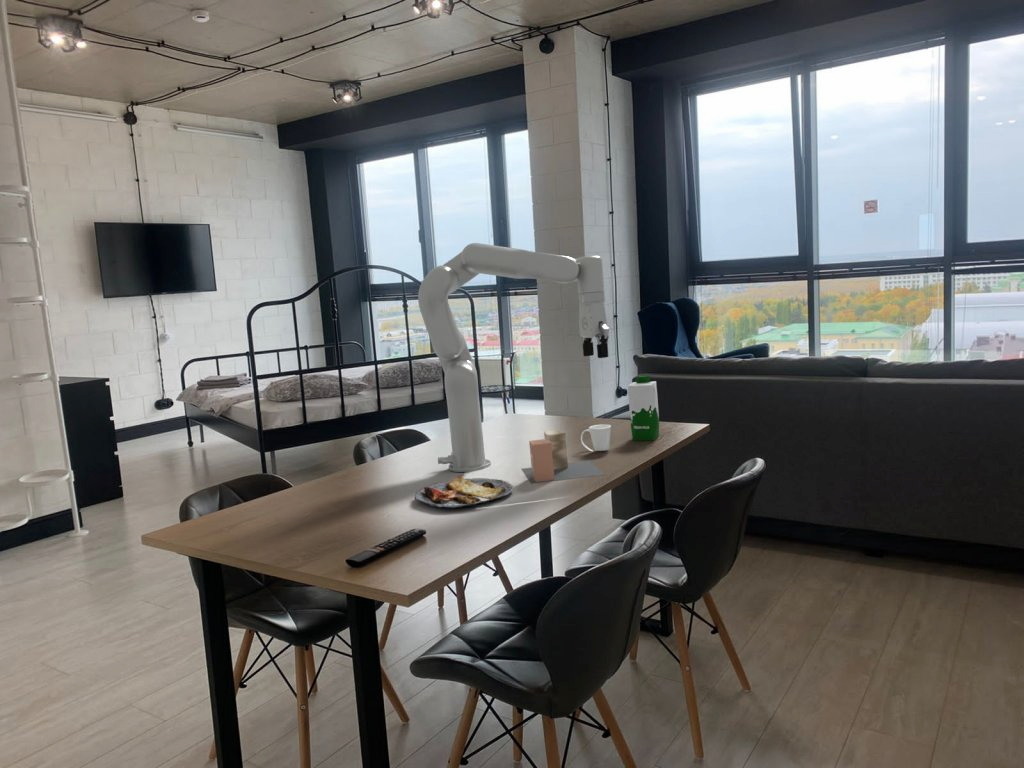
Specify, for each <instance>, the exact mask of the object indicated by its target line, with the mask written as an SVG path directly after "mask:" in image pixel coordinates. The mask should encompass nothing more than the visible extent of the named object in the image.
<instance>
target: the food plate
mask: <svg viewBox="0 0 1024 768" xmlns="http://www.w3.org/2000/svg"><path fill="white" fill-rule="evenodd" d="M513 490H514V486H513V485H512V483H510V482H509V481H506V480H502V479H495V478H494V479H493V478H486V477H485V478H484V477H483V478H481V477H479V478H478V477H474V478H465V477H464V476H463V475H458V476H456V477H455V478H453V479H452V480H447V481H442V482H436V483H433V484H430V485H427V486H424V487H422V488H421V489H419V490H418V491H416V492H415V494H414V500H417V501H420V502H421V503H425V504H427V505H429V506H430V507H437V508H442V507H443V508H453V509H454V508H465V507H470V506H472V507H473V506H475V505H477V504H481V503H486V502H489V501H492V500H495V499H496V500H497V499H498V498H501V497H505V496H507V495H509V494H510V493H511V492H512V491H513ZM480 498H482V499H487V500H481V499H480Z"/></svg>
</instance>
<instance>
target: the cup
mask: <svg viewBox="0 0 1024 768" xmlns="http://www.w3.org/2000/svg"><path fill="white" fill-rule="evenodd" d="M611 429H612V425H611V424H595V425H591V426H589V427H588V429H585V430H583V431H582V432H581V434H580V443H581V445H582V446H583V448H585V449H586V450H587V451H589V452H594V451H597V452H602V451H607V450H609V449H610V443H611ZM585 432H589V434H590V438H591V439H590V440H591V442H592V446H593V449H594V450H593V449H591V448H589V447H588V446H587V445H586V444H585V443H584V441H583V438H584V436H583V435H584V434H585Z"/></svg>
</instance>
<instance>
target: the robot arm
mask: <svg viewBox="0 0 1024 768" xmlns="http://www.w3.org/2000/svg"><path fill="white" fill-rule="evenodd" d="M603 267H604V266H603V259H602V257H601V256H600V255H589V256H588V255H587V256H586V255H585V256H580V257H578V258H573V257H571V256H566V255H560V254H554V253H553V254H552V253H546V252H538V251H533V250H526V249H521V248H514V247H513V248H512V247H507V246H500V245H495V244H494V245H493V244H488V243H487V244H486V243H479V242H473V243H469V244H466V246H465V247H464V248H463V249H462V250H461V252H459V253H458V254H457V255H455V256H454V257H453V258H451V259H450V260H448V261H446V262H445V263H444V264H441V265H438V266H435V267H433V268H432V269H431V270H429V272H428V273H427V274H426V276H425V277H424V279H423V280H422V281H421V283H420V285H419V290H418V297H417V299H418V307H419V310H420V314H421V316H422V319H423V322H424V325H425V328H426V332H427V333H428V337H429V339H430V342H431V347H432V349H433V351H434V353H435V355H436V356H437V357H438V360H439V362H440V363H439V364H440V365H441V368H442V370H443V373H444V390H445V391H444V392H445V396H446V405H447V415H448V423H449V424H448V425H449V432H450V443H451V452H450V454H449V455H447V456H440V457H437V464H438V465H440V464H442V465H447V464H449V465H448V470H449V471H450V472H455V473H465V472H467V473H468V472H474V471H480V470H484V469H486V468H488V467H490V466H492V465H491V463H492V461H491V460H490V459H487V458H486V454H485V444H484V433H483V422H482V414H481V403H480V395H479V394H480V393H479V380H478V371H477V368H476V365H475V363H474V360H473V358H472V356H471V352H470V349H469V346H468V344H467V341H466V340H465V337H464V334H463V333H462V332H461V331H460V330H459V329H458V326H457V323H456V321H455V319H454V316H453V312H452V310H451V307H450V304H449V295H451V294H453V293H454V292H456V291H457V290H459V289H460V288H462V287H463V286H464V285H466V284H467V283H469V282H471V280H473V279H474V278H476V277H477V276H478V275H480V274H483V275H490V276H497V277H505V278H510V279H516V280H517V279H520V280H521V279H533V280H541V281H548V282H554V283H555V282H556V283H557V284H570V283H574V282H577V290H578V291H577V293H578V303H579V309H578V327H579V328H578V329H579V330H578V331H579V332H578V333H579V336H580V337H581V343H582V353H583V354H582V355H583V357H590V356H592V357H593V356H594V354H595V353H594V351H595V350H594V342H593V338H595V340H596V342H597V344H596V350H597V352H596V354H597V358H598V359H605V358H608V357H609V347H608V344H609V333H610V329H609V327H608V324H607V323H608V321H607V317H606V316H607V315H606V308H605V302H606V298H605V284H604V283H605V281H604V269H603Z"/></svg>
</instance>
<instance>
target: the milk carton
mask: <svg viewBox="0 0 1024 768" xmlns="http://www.w3.org/2000/svg"><path fill="white" fill-rule="evenodd" d="M627 392H628V393H627V396H628V407H629V421H630V431H631V437H632V441H655V440H657V438H658V437H659V436H660V414H659V402H658V399H659V398H658V389H657V381H656V380H655V381H652V380H651V381H650V374H649V375H647V374H643V375H637V376H636V381H635V382H634V381H633V382H632V383H629V384H628V385H627Z"/></svg>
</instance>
